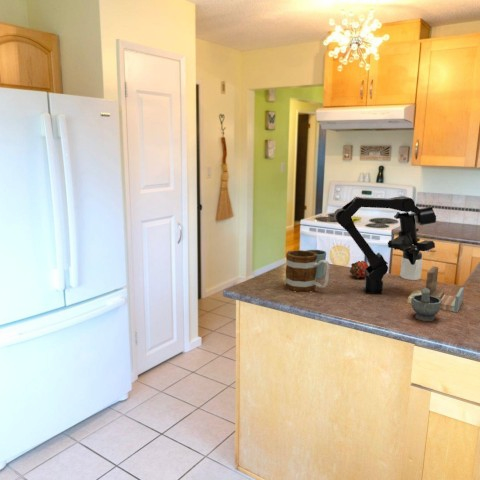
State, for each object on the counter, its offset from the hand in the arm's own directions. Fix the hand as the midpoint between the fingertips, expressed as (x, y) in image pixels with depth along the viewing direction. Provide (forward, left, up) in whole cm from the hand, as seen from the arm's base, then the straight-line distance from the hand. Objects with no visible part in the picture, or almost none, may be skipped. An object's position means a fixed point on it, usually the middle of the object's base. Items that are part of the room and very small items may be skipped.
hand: (412, 264), depth 176 cm
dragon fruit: (-18, +20, -12) cm, 30 cm away
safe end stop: (+14, -15, -12) cm, 24 cm away
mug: (-42, -3, -12) cm, 44 cm away
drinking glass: (-39, +16, -12) cm, 44 cm away
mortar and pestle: (-1, -29, -12) cm, 32 cm away
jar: (+5, +23, -12) cm, 26 cm away
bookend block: (+6, -12, -10) cm, 16 cm away
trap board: (+6, -11, -12) cm, 18 cm away
